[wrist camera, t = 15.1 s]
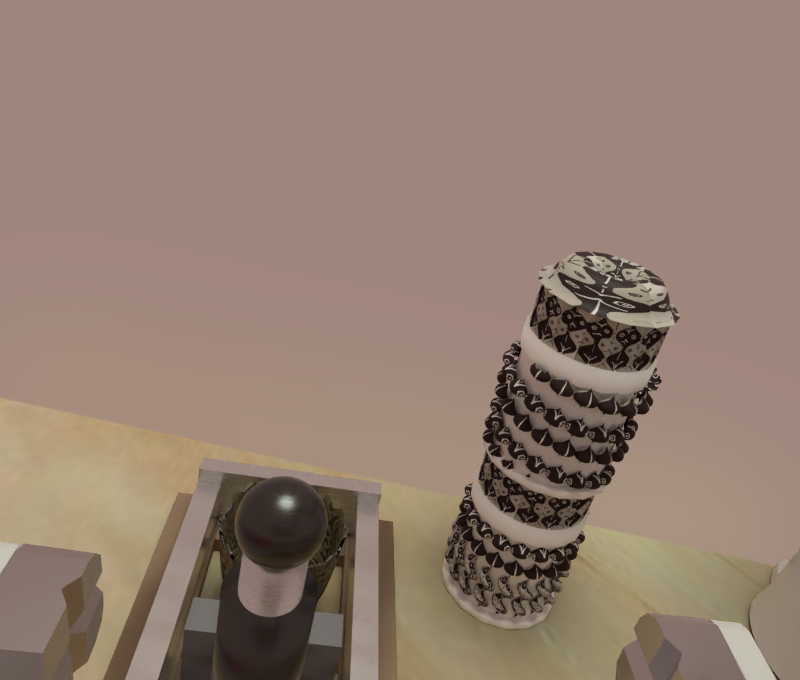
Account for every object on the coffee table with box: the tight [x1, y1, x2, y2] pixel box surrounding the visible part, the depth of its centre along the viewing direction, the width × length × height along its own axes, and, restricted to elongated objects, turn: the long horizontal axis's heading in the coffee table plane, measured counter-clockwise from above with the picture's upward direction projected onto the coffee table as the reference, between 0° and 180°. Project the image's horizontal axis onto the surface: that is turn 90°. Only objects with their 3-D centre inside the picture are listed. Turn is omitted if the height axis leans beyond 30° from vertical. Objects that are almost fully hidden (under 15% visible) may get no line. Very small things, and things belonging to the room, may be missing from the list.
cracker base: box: [104, 493, 397, 680], centre depth 39 cm, size 16×22×6 cm
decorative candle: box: [441, 252, 680, 630], centre depth 43 cm, size 9×9×25 cm
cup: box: [218, 481, 348, 601], centre depth 40 cm, size 8×7×8 cm
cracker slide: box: [125, 458, 381, 680], centre depth 34 cm, size 12×21×19 cm, turn 2°
